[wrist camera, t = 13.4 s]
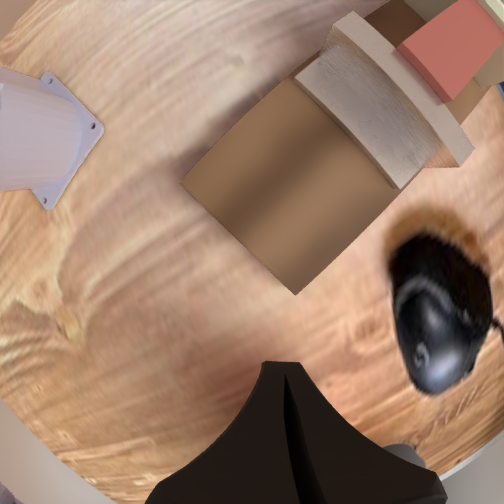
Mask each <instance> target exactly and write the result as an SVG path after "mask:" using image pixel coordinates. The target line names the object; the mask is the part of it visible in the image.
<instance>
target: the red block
mask: <svg viewBox="0 0 504 504" xmlns="http://www.w3.org/2000/svg"><path fill="white" fill-rule="evenodd" d="M503 40H504V32H503V31H502V30H501V28H500V27H499V26H498V25H497V23H496V22H495V21H494V20H493V18H492V17H491V16H490V15H489V14H488V12H487V11H486V10H485V9H484V8H483V7H482V6H481V5H480V3H479V2H478V1H477V0H458V1H457V2H455V3H454V4H452V5H451V6H449V7H448V8H447V9H445V10H444V11H443V12H441V13H440V14H438V15H437V16H436V17H434V18H433V19H432V20H430V21H429V22H428V23H426V24H425V25H424V26H422V27H421V28H420V29H419V30H417V31H416V32H415V33H413V34H412V35H411V36H410V37H408V38H407V39H406V40H404V41H403V42H402V43H401V44H400V45H399V46H398V47H397V48H396V49H397V50H398V51H399V52H400V53H401V54H402V55H403V56H404V57H405V58H406V60H407V61H408V62H409V63H410V64H411V65H412V66H413V67H414V68H415V69H416V70H417V71H418V73H419V74H420V75H421V76H422V77H423V78H424V79H425V81H426V82H427V83H428V84H429V85H430V87H431V88H432V89H433V90H434V92H435V93H436V94H437V95H438V97H439V98H440V99H441V100H442V102H443V103H447V102H450V101H452V100H453V99H454V98H455V97H456V96H457V95H458V94H459V93H460V91H461V90H462V89H463V88H464V87H465V86H466V85H467V83H468V82H469V81H470V80H471V79H472V78H473V76H474V75H475V74H476V73H477V72H478V71H479V69H480V68H481V67H482V66H483V65H484V64H485V62H486V61H487V60H488V59H489V58H490V56H491V55H492V54H493V53H494V52H495V50H496V49H497V48H498V47H499V45H500V44H501V43H502V42H503Z"/></svg>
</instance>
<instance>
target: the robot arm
mask: <svg viewBox="0 0 504 504" xmlns="http://www.w3.org/2000/svg"><path fill="white" fill-rule="evenodd" d="M52 80H53V81H52ZM51 82H52V83H51ZM94 124H96V126H95V128H94V129H93V125H94ZM104 130H105V128H104V126H103V124H102V123H101V122H100V121H99V120H98V119H97V118H96V117H95V116H94V115H93V114H92V113H91V112H90V111H89V110H88V109H87V108H86V107H85V106H84V105H83V104H82V103H81V102H80V101H79V100H78V99H77V98H76V97H75V96H74V95H73V94H72V93H71V92H70V91H69V90H68V89H67V88H66V87H65V86H64V85H63V84H62V83H61V81H60V80H59V79H58V78H57V77H56V76H55V75H54V74H53V73H52V72H50V71H47V72H45V73H44V75H43V76H42V77H41V79H40V80H39V79H36V78H33V77H31V76H28V75H25V74H22V73H19V72H16V71H13V70H10V69H7V68H3V67H0V192H7V191H16V190H24V189H31V191H32V192H33V193H34V195H35V196H36V198H37V199H38V200H39V202H40V203H41V204H42V206H43V207H44V208H45V209H46V210H47V211H51V210H53V209H54V207H55V205H56V204H57V202H58V200H59V199H60V197H61V195H62V193H63V192H64V190H65V189H66V187H67V185H68V184H69V182H70V181H71V179H72V177H73V176H74V174H75V173H76V171H77V170H78V168H79V167H80V165H81V164H82V162H83V161H84V160H85V158H86V157H87V155H88V154H89V152H90V151H91V150H92V148H93V147H94V145H95V144H96V143H97V141H98V140H99V139H100V137H101V136H102V135H103V133H104ZM45 199H47V202H46V200H45ZM447 499H448V497H447V495H446V492H445V490H444V487H443V485H442V483H441V481H440V479H439V477H438V476H437V474H436V472H433V471H430V470H428V469H425V468H422V467H420V466H417V465H415V464H412V463H410V462H407V461H405V460H403V459H401V458H399V457H397V456H395V455H394V454H392V453H390V452H388V451H386V450H385V449H383V448H381V447H380V446H378V445H377V444H375V443H374V442H372V441H371V440H369V439H368V438H367V437H365V436H364V435H363V434H361V433H360V432H359V431H357V430H356V429H355V428H354V427H353V426H352V425H350V424H349V423H348V422H347V421H346V420H345V419H344V418H343V417H342V416H341V415H340V414H339V413H338V412H337V411H336V410H335V409H334V408H333V406H332V405H331V404H330V403H329V402H328V401H327V399H326V398H325V397H324V396H323V394H322V393H321V392H320V391H319V389H318V388H317V387H316V385H315V384H314V383H313V381H312V380H311V378H310V377H309V375H308V374H307V372H306V371H305V369H304V368H303V366H302V365H301V364H300V363H299V362H276V361H265V362H263V363H262V367H261V372H260V375H259V378H258V380H257V382H256V385H255V387H254V389H253V391H252V393H251V394H250V396H249V398H248V400H247V401H246V403H245V404H244V406H243V408H242V409H241V411H240V412H239V414H238V415H237V416H236V418H235V419H234V420H233V422H232V423H231V424H230V425H229V426H228V428H227V429H226V430H225V431H224V432H223V433H222V434H221V435H220V436H219V437H218V438H217V440H216V441H215V442H214V443H213V444H211V445H210V446H209V447H208V448H207V449H206V450H205V451H204V452H202V453H201V454H200V455H199V456H197V457H196V458H195V459H194V460H192V461H191V462H190V463H189V464H187V465H186V466H185V467H183V468H182V469H180V470H178V471H177V472H175V473H174V474H172V475H170V476H169V477H167V478H165V479H164V480H162V481H160V482H159V483H158V484H157V485H156V486H155V488H154V489H153V491H152V492H151V493H150V495H149V497H148V498H147V500H146V502H145V504H445V503H446V501H447ZM0 504H24V503H22V502H21V501H19V500H18V499H16V498H15V497H14V495H13V494H12V493H11V492H10V491H9V490H8V489H7V488H6V487H5V486H4V485H3V484H2V483H1V482H0Z"/></svg>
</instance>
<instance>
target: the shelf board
mask: <svg viewBox="0 0 504 504" xmlns="http://www.w3.org/2000/svg"><path fill="white" fill-rule="evenodd" d="M364 20H365V21H366V22H368V23H369V24H370V25H371V26H372V27H373V28H374V29H376V30H377V31H378V32H379V33H380V34H381V35H382V36H383V37H384V38H385V39H386V40H387V41H389V42H390V43H391V44H392V45H393V46H394V47H395V48H397V47H398V46H399V45H400V44H401V43H402V42H403V41H404V40H406V39H407V38H408V37H410V36H411V35H412V34H413V33H415V32H416V31H417V30H419V29H420V28H421V27H422V26H424V25H425V24H426V23H427V22H426V21H425V20H424V19H423V18H422V17H421V16H420V15H419V14H417V13H416V12H415V11H414V10H413V9H412V8H411V7H410V6H409V5H408V4H407V3H405V2H404V1H403V0H391V1H390V2H388V3H387V4H385V5H383V6H382V7H380V8H379V9H377V10H376V11H374V12H373V13H371V14H370V15H368V16H367V17H365V18H364ZM320 52H321V50H320V51H318V52H317V53H316V54H315V55H313V56H312V57H311V58H309V59H308V60H307V61H306V62H305V63H303V64H302V65H301V66H300V67H298V68H297V69H296V70H295V71H294V72H292V73H291V74H290V75H289V76H288V77H286V78H285V79H284V80H283V81H282V82H281V83H279V84H278V85H277V86H276V87H275V88H274V89H273V90H271V91H270V92H269V93H268V94H267V95H266V96H265V97H264V98H263V99H261V100H260V101H259V102H258V103H257V104H256V105H255V106H254V107H253V108H252V109H251V110H249V111H248V112H247V113H246V114H245V115H244V116H243V117H242V118H241V119H240V120H239V121H238V122H237V123H236V124H235V125H234V126H233V127H232V128H231V129H230V130H229V131H228V132H227V133H226V134H225V135H224V136H223V137H222V138H221V139H220V140H219V141H218V142H217V143H216V144H215V145H214V146H213V147H212V148H211V149H210V150H209V151H208V152H207V153H206V154H205V155H204V156H203V157H202V158H201V159H200V160H199V161H198V162H197V163H196V165H195V166H194V167H193V168H192V169H191V170H190V171H189V172H188V173H187V174H186V175H185V177H184V178H183V179H182V180H181V181H180V182H179V183H180V184H181V185H182V186H183V187H184V188H185V189H186V190H187V191H188V192H189V193H190V194H191V195H192V196H193V197H194V198H195V199H196V200H197V201H198V202H199V203H200V204H201V205H202V206H203V207H204V208H205V209H206V210H207V211H209V212H210V213H211V214H212V215H213V216H214V217H215V218H216V219H217V220H218V221H219V222H220V223H221V224H222V225H223V226H224V227H225V228H226V229H227V230H228V231H229V232H230V233H231V234H232V235H233V236H234V237H235V238H236V239H237V240H238V241H239V242H240V243H242V244H243V245H244V246H245V247H246V248H247V249H248V250H249V251H250V252H251V253H252V254H253V255H254V256H255V257H256V258H257V259H258V260H259V261H260V262H261V263H262V264H263V265H264V266H265V267H266V268H267V269H268V270H269V271H270V272H271V273H272V274H273V275H275V276H276V277H277V278H278V279H279V280H280V281H281V282H282V283H283V284H284V285H285V286H286V287H287V288H288V289H289V290H290V291H291V292H292V293H293V294H294V295H295V296H296V295H297V294H298V293H299V292H300V291H301V290H302V289H303V288H305V287H306V286H307V285H308V284H309V283H310V282H311V281H312V280H313V279H314V278H315V277H316V276H318V275H319V274H320V273H321V272H322V271H323V270H324V269H325V268H326V267H327V266H328V265H329V264H330V263H331V262H332V261H333V260H334V259H336V258H337V257H338V256H339V255H340V254H341V253H342V252H343V251H344V250H345V249H346V248H347V247H348V246H349V245H350V244H351V243H352V242H353V241H354V240H355V239H356V238H357V237H358V236H359V235H360V234H361V233H362V232H363V231H364V230H365V229H366V228H367V227H368V226H369V225H370V224H371V223H372V222H373V221H374V220H375V219H376V218H377V217H378V216H379V215H380V214H381V213H382V212H383V211H384V210H385V209H386V208H387V207H388V206H389V205H390V203H391V202H392V201H393V200H394V199H395V198H396V197H397V196H398V195H399V194H400V193H401V192H402V191H403V190H404V189H405V188H406V187H407V185H408V184H409V183H410V182H411V181H412V180H413V179H414V178H415V177H416V176H417V175H418V173H419V172H420V171H421V170H422V169H423V168H422V169H419V170H418V171H417V172H416V173H415V174H414V175H413V177H412V178H411V179H410V180H409V181H408V182H407V183H406V184H405V185H404V186H403V187H402V188H401V189H400V190H399V189H394V188H393V187H392V186H391V184H390V183H389V182H388V181H387V179H386V178H385V177H384V176H383V174H382V173H381V172H380V171H379V170H378V168H377V167H376V166H375V165H374V164H373V163H372V161H371V160H370V159H369V158H368V157H367V156H366V154H365V153H364V152H363V151H362V150H361V149H360V148H359V147H358V146H357V144H356V143H355V142H354V141H353V140H352V139H351V138H350V137H349V136H348V135H347V134H346V133H345V131H344V130H343V129H342V128H341V127H340V126H339V125H338V124H337V123H336V122H335V121H334V120H333V119H332V118H331V117H330V116H329V115H328V114H327V113H326V112H325V111H324V110H323V109H322V108H321V107H320V106H319V105H318V104H317V103H316V102H314V101H313V100H312V99H311V98H310V97H309V96H308V95H307V94H306V93H305V92H304V91H303V90H301V89H300V88H299V87H298V86H297V85H296V84H295V83H294V82H293V81H294V77H295V76H296V75H298V74H299V73H300V72H301V71H302V70H304V69H305V68H306V67H307V66H308V65H310V64H311V63H312V62H313V61H315V60H316V59H317V58H318V56H319V54H320ZM491 86H492V85H491ZM491 86H488V87H485V88H481V87H480V85H479V84H478V83H477V81H476V80H475V78H474V77H473V78H472V79H471V80H470V81H469V82H468V83H467V85H466V86H465V87H464V88H463V89H462V90H461V91H460V93H459V94H458V95H457V96H456V97H455V98H454V99H453V100H452V101H450V102H447V103H444V104H445V106H446V107H447V108H448V110H449V111H450V112H451V114H452V115H453V116H454V118H455V119H456V121H457V122H458V124H459V125H461V124H462V123H463V121H464V120H465V119H466V118H467V116H468V115H469V114H470V113H471V112H472V110H473V109H474V108H475V106H476V105H477V104H478V103H479V101H480V100H481V99H482V98H483V96H484V95H485V94H486V92H487V91H488V90H489V88H490V87H491Z"/></svg>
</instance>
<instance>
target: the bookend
mask: <svg viewBox="0 0 504 504" xmlns="http://www.w3.org/2000/svg"><path fill="white" fill-rule="evenodd" d="M293 82H294V83H295V84H296V85H297V86H298V87H299V88H300V89H301V90H303V91H304V92H305V93H306V94H307V95H308V96H309V97H310V98H311V99H312V100H313V101H314V102H316V103H317V104H318V105H319V106H320V107H321V108H322V109H323V110H324V111H325V112H326V113H327V114H328V115H329V116H330V117H331V118H332V119H333V120H334V121H335V122H336V123H337V124H338V125H339V126H340V127H341V128H342V129H343V130H344V131H345V133H346V134H347V135H348V136H349V137H350V138H351V139H352V140H353V141H354V142H355V143H356V144H357V146H358V147H359V148H360V149H361V150H362V151H363V152H364V153H365V154H366V156H367V157H368V158H369V159H370V160H371V161H372V163H373V164H374V165H375V166H376V167H377V168H378V170H379V171H380V172H381V173H382V174H383V176H384V177H385V178H386V179H387V181H388V182H389V183H390V184H391V186H392V187H393V188H394V189H399V190H400V189H401V188H402V187H403V186H404V185H405V184H406V183H407V182H408V181H409V180H410V179H411V178H412V177H413V175H414V174H415V173H416V172H417V171H418V170H419V169H422V168H448V167H461V166H462V164H463V163H464V162H465V160H466V159H467V158H468V157H469V155H470V154H471V153H472V151H473V150H474V149H475V148H474V147H473V145H472V143H471V142H470V140H469V139H468V137H467V136H466V134H465V132H464V131H463V129H462V128H461V127H460V125H459V124H458V122H457V121H456V119H455V118H454V116H453V115H452V114H451V112H450V111H449V110H448V108H447V107H446V106H445V104H444V103H443V102H442V100H441V99H440V98H439V97H438V95H437V94H436V93H435V92H434V90H433V89H432V88H431V87H430V85H429V84H428V83H427V82H426V81H425V79H424V78H423V77H422V76H421V75H420V74H419V73H418V71H417V70H416V69H415V68H414V67H413V66H412V65H411V64H410V63H409V62H408V61H407V60H406V58H405V57H404V56H403V55H402V54H401V53H400V52H399V51H398V50H397V49H396V48H395V47H394V46H393V45H392V44H391V43H390V42H389V41H387V40H386V39H385V38H384V37H383V36H382V35H381V34H380V33H379V32H378V31H377V30H376V29H374V28H373V27H372V26H371V25H370V24H369V23H368V22H366V21H365V20H364V19H363V18H362V17H360V16H359V15H358V14H357V13H356V12H354V11H352V12H350V13H349V14H347V15H346V16H344V17H343V18H341V19H340V20H338V21H337V22H335V23H334V24H333V25H332V27H331V29H330V32H329V34H328V36H327V38H326V40H325V43H324V45H323V47H322V49H321V52H320V54H319V56H318V58H317V59H316V60H315V61H313V62H312V63H311V64H310V65H308V66H307V67H306V68H305V69H304V70H302V71H301V72H300V73H299V74H298V75H296V76H295V77H294V81H293Z"/></svg>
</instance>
